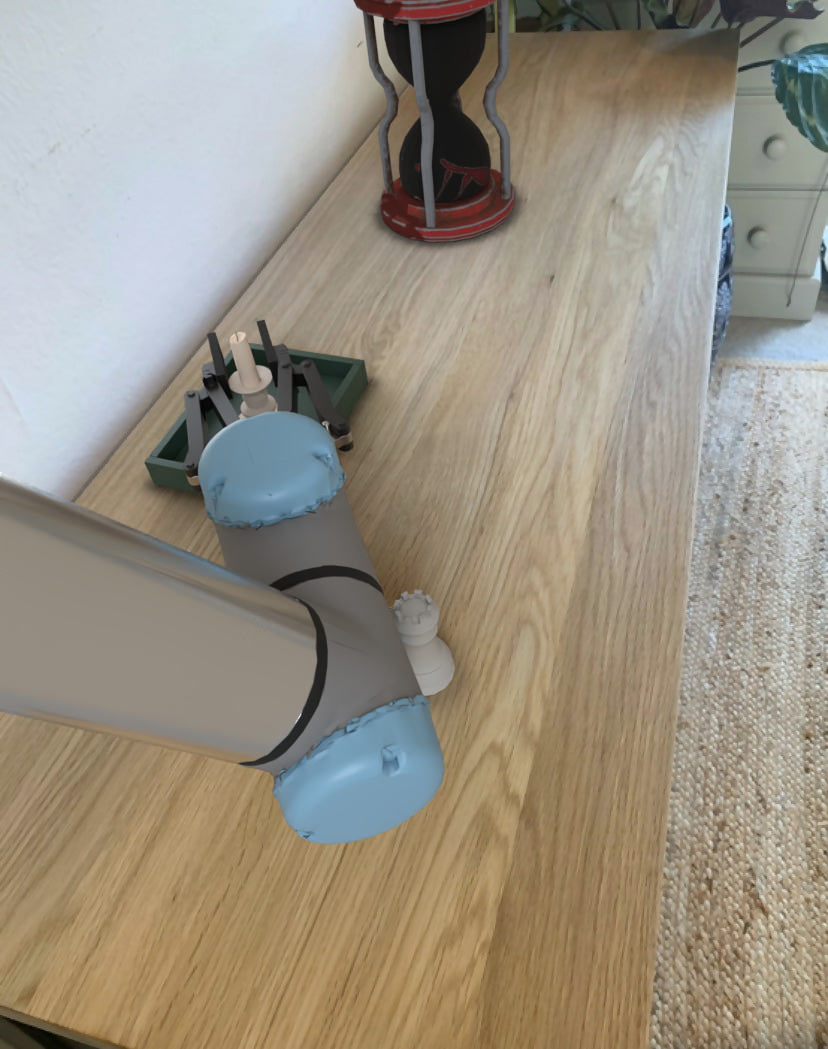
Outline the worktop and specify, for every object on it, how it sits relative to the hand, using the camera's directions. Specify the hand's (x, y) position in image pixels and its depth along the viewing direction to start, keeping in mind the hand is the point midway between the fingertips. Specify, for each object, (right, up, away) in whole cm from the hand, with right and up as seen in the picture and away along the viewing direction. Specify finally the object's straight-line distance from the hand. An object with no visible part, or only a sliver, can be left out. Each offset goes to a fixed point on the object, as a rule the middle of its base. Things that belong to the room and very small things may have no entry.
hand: (239, 339), depth 78 cm
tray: (+2, -8, +1) cm, 9 cm away
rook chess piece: (+17, -27, -17) cm, 36 cm away
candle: (+2, -8, +1) cm, 8 cm away
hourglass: (+20, +21, +26) cm, 39 cm away
